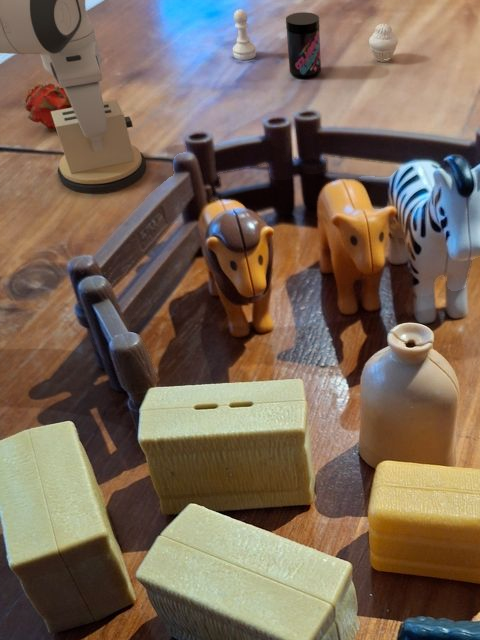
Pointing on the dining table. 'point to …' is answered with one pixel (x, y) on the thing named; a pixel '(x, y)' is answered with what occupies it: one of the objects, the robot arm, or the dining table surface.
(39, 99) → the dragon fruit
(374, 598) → the dining table surface
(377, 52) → the muffin
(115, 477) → the dining table surface
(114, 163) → the toaster
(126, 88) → the dining table surface
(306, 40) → the supplement container
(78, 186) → the turntable base
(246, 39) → the chess pawn
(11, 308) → the dining table surface
